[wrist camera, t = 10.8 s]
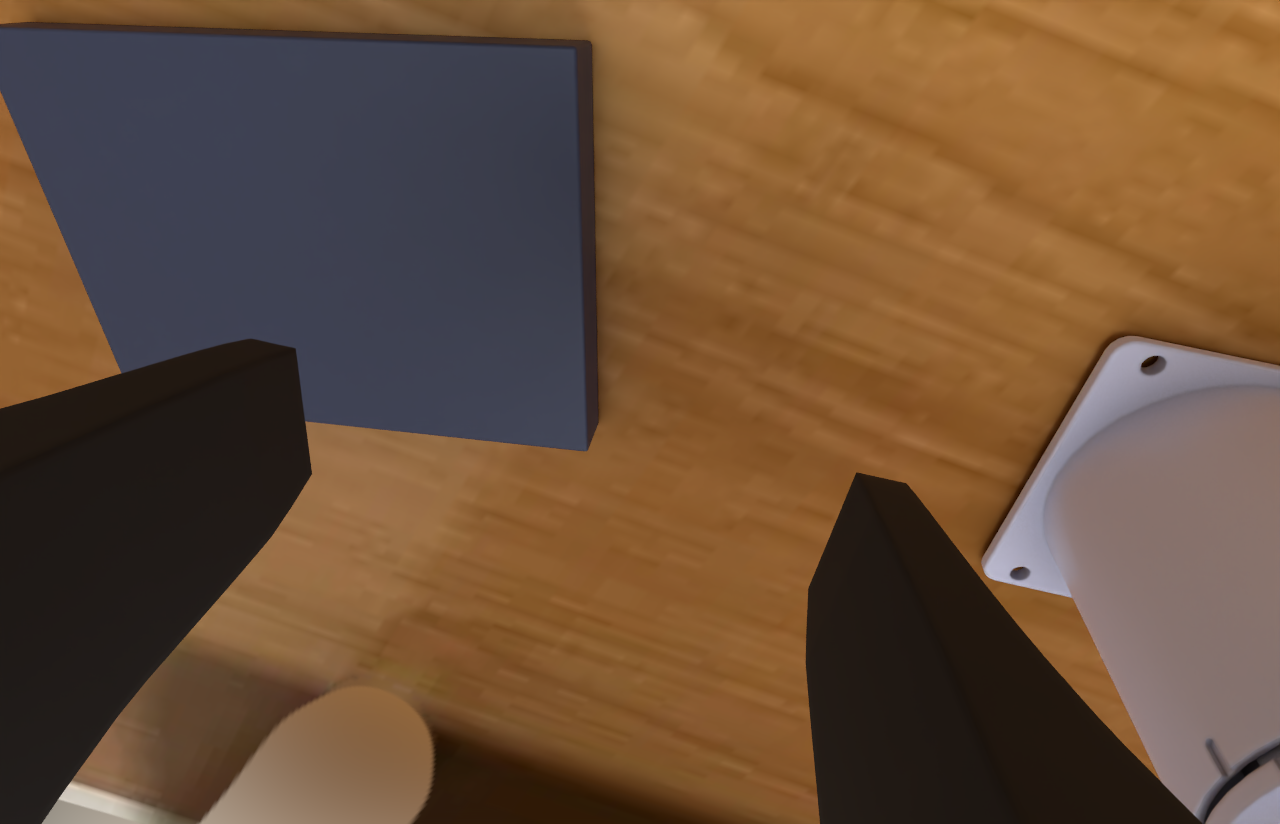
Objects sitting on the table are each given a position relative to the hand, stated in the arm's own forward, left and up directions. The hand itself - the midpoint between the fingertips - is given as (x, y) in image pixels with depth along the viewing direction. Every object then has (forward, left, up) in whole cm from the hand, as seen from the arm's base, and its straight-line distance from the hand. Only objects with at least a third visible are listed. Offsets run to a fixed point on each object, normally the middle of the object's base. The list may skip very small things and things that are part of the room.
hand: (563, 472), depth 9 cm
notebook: (+8, +2, -10) cm, 13 cm away
